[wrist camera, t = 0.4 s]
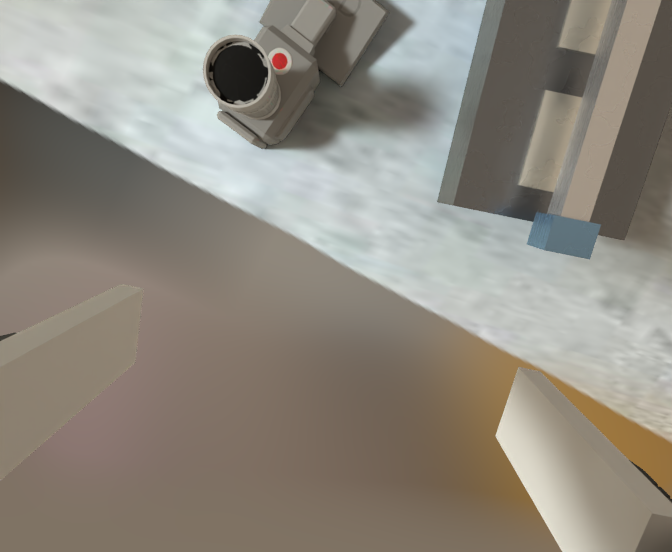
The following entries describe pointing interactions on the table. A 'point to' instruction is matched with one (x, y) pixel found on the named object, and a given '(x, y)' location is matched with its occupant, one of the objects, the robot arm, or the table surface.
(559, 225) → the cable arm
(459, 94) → the table surface
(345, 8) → the camera
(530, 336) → the table surface
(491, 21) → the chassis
